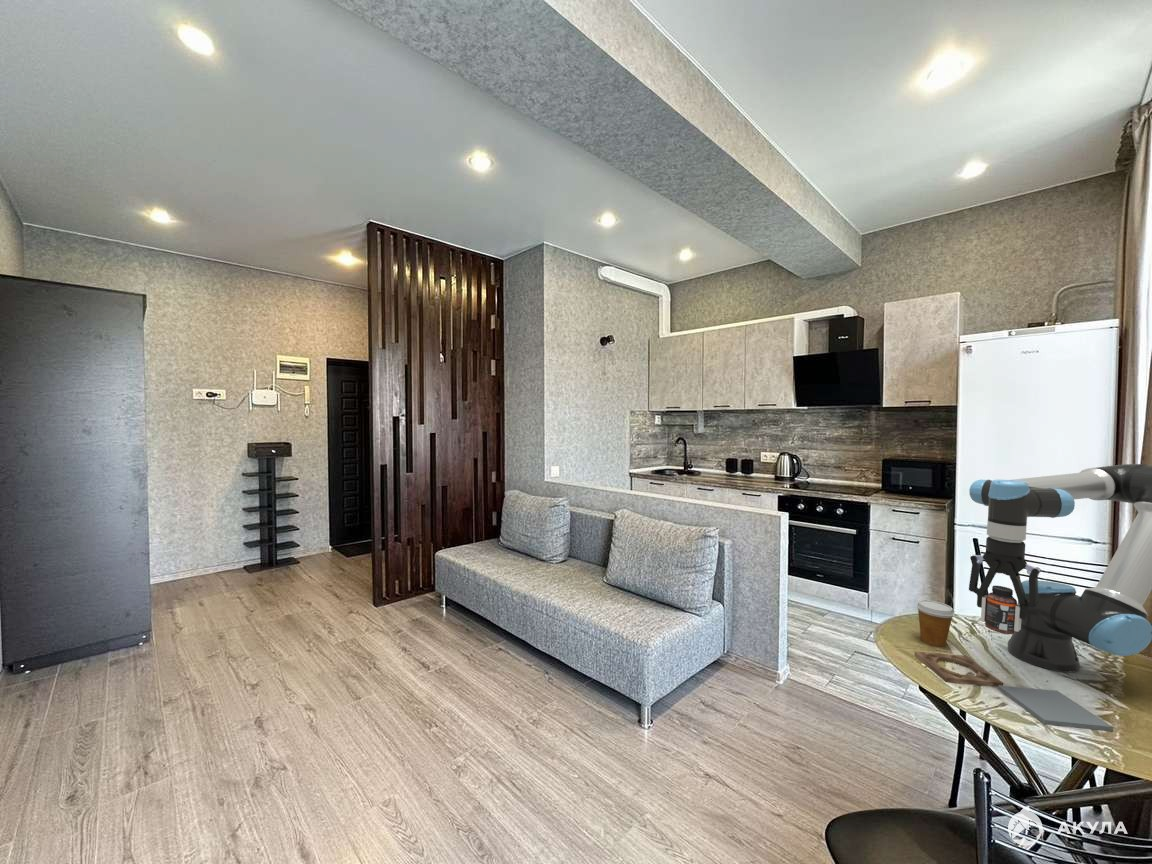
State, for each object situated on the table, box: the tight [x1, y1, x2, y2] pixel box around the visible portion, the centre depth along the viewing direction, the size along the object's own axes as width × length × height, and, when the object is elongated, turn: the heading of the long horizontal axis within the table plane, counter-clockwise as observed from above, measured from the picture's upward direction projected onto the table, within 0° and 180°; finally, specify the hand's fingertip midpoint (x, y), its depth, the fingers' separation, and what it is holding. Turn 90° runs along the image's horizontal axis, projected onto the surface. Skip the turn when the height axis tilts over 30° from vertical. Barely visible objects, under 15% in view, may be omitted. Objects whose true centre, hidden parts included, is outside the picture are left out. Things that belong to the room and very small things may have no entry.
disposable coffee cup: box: [915, 599, 955, 648], centre depth 146 cm, size 10×10×12 cm
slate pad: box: [997, 685, 1114, 732], centre depth 113 cm, size 14×14×1 cm
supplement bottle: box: [984, 585, 1018, 635], centre depth 121 cm, size 6×6×11 cm
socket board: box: [914, 651, 1004, 688], centre depth 130 cm, size 14×14×1 cm
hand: (1000, 624), depth 122 cm, fingers closed on supplement bottle, 6 cm apart
